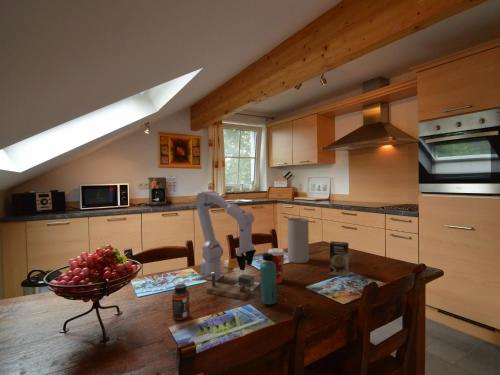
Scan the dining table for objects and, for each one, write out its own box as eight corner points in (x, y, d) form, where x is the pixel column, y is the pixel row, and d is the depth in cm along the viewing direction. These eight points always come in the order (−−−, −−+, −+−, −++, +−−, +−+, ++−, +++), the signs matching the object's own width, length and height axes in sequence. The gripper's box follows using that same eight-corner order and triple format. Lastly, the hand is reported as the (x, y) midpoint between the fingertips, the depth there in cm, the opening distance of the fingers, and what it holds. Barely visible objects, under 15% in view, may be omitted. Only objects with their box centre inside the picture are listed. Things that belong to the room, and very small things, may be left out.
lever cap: (238, 285, 120) (238, 277, 120) (242, 282, 124) (242, 274, 124) (250, 287, 117) (250, 279, 117) (254, 284, 121) (254, 276, 121)
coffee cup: (284, 284, 121) (283, 252, 121) (266, 283, 123) (266, 252, 122) (285, 278, 129) (285, 248, 129) (269, 277, 131) (268, 247, 130)
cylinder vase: (285, 258, 162) (285, 218, 162) (304, 257, 164) (304, 217, 163) (291, 264, 150) (290, 221, 149) (311, 263, 151) (311, 220, 151)
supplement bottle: (190, 319, 92) (189, 288, 92) (172, 322, 90) (171, 290, 90) (189, 311, 98) (188, 281, 97) (172, 314, 96) (171, 283, 96)
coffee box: (329, 274, 132) (329, 243, 132) (330, 270, 138) (330, 240, 138) (348, 277, 129) (348, 245, 129) (348, 272, 135) (348, 242, 135)
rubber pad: (232, 287, 119) (232, 286, 119) (241, 280, 127) (241, 279, 127) (252, 291, 114) (252, 290, 114) (259, 283, 123) (259, 282, 123)
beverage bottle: (272, 310, 98) (271, 257, 97) (257, 305, 101) (256, 255, 100) (280, 302, 103) (279, 253, 103) (265, 299, 107) (264, 251, 106)
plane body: (206, 292, 114) (206, 277, 114) (215, 286, 120) (214, 272, 120) (243, 299, 106) (242, 283, 106) (250, 293, 113) (250, 277, 112)
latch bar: (213, 273, 118) (213, 271, 118) (216, 274, 116) (216, 272, 116) (197, 279, 111) (197, 277, 111) (201, 281, 109) (200, 278, 109)
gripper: (246, 242, 112) (246, 273, 112) (259, 235, 125) (259, 263, 125) (232, 241, 115) (232, 271, 115) (246, 234, 128) (246, 261, 128)
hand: (245, 267), depth 120 cm, fingers open, 7 cm apart
